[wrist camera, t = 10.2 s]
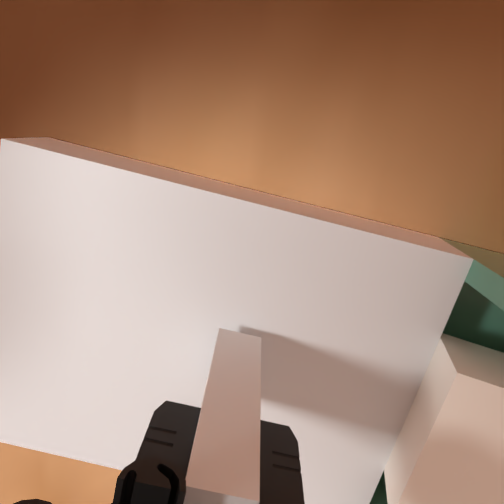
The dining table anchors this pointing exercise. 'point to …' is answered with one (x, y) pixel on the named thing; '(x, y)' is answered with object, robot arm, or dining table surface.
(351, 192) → the dining table surface
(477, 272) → the box
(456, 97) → the dining table surface
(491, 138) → the dining table surface
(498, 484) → the tile
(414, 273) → the board
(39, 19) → the dining table surface
